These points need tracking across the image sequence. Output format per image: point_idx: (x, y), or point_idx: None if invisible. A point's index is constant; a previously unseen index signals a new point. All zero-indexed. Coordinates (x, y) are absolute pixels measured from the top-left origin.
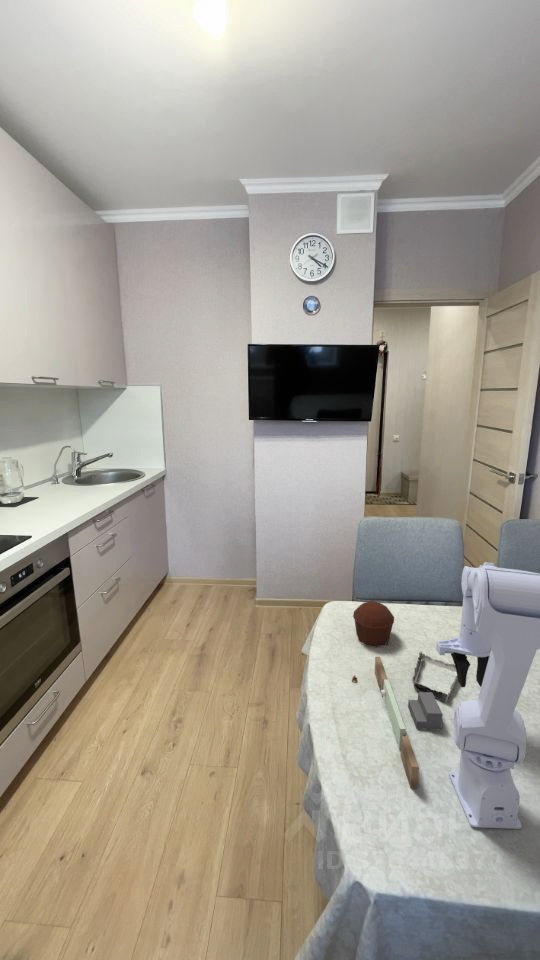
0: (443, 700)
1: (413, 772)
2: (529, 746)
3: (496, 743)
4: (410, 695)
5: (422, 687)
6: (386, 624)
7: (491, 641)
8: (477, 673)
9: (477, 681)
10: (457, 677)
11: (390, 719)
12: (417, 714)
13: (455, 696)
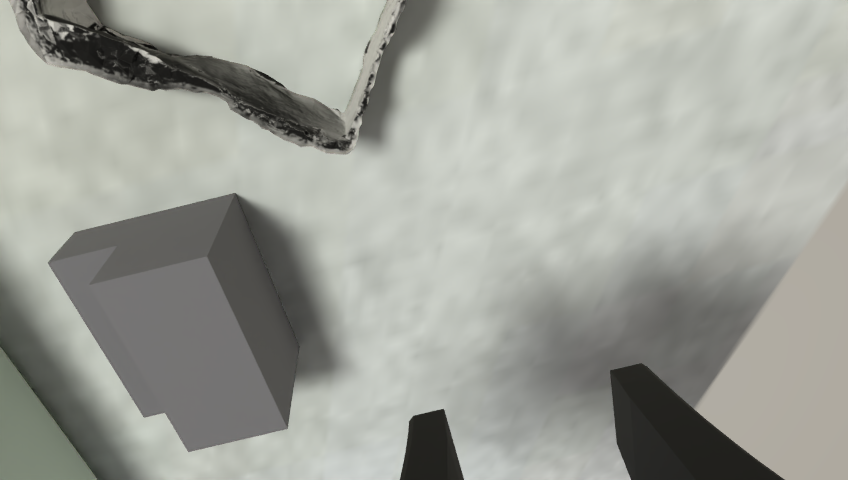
0: (326, 111)
1: None
2: (742, 326)
3: None
4: (66, 108)
5: (135, 74)
6: None
7: None
8: (651, 441)
9: (614, 393)
10: (408, 439)
11: None
12: (138, 370)
13: (428, 20)
